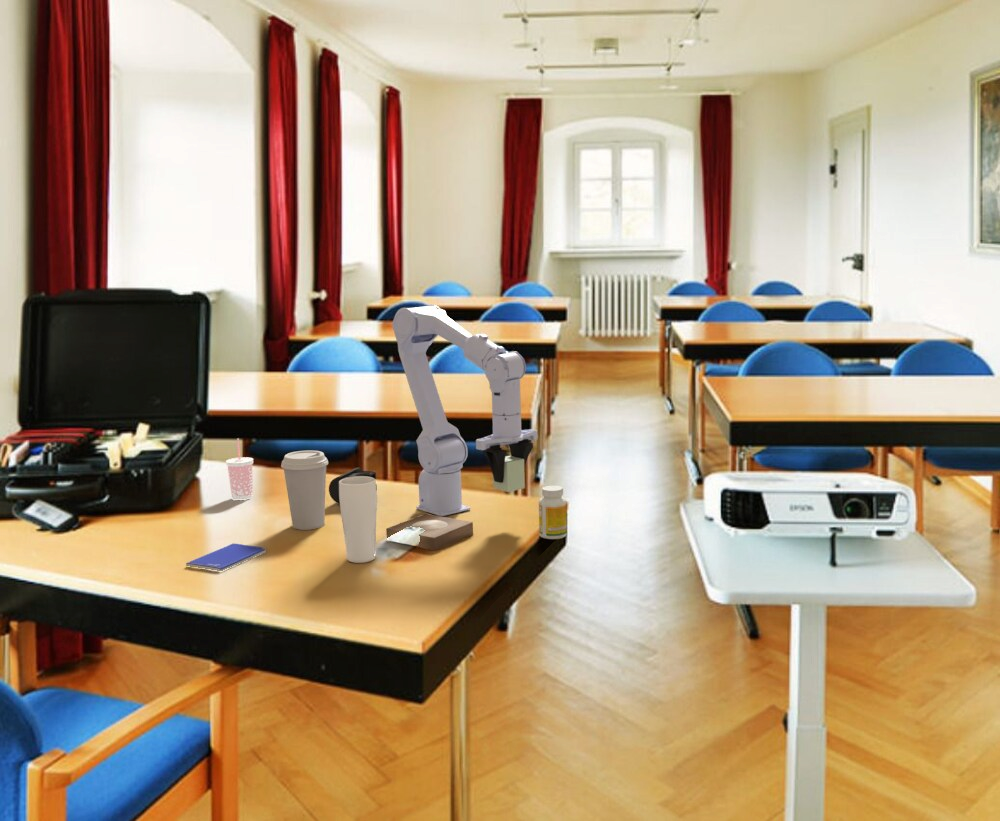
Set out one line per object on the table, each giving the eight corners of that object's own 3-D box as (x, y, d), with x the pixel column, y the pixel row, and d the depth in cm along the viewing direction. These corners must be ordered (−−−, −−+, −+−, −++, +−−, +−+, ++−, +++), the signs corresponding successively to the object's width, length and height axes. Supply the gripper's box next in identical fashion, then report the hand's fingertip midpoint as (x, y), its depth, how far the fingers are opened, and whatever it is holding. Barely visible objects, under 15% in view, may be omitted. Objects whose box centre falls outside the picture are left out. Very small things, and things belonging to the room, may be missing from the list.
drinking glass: (338, 557, 189) (334, 478, 187) (374, 551, 192) (369, 474, 189) (348, 567, 183) (343, 486, 180) (384, 561, 186) (380, 481, 183)
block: (493, 488, 206) (492, 459, 205) (510, 484, 209) (509, 455, 208) (507, 492, 203) (506, 462, 201) (524, 488, 205) (524, 459, 204)
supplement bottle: (533, 536, 198) (532, 488, 197) (551, 530, 202) (550, 483, 201) (555, 541, 195) (554, 492, 193) (572, 534, 199) (571, 487, 197)
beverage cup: (244, 502, 230) (239, 442, 228) (223, 500, 233) (218, 440, 230) (261, 496, 236) (257, 436, 233) (240, 493, 238) (236, 435, 236)
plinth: (386, 541, 198) (386, 528, 198) (426, 525, 208) (425, 513, 207) (434, 550, 191) (434, 537, 191) (473, 534, 201) (472, 521, 200)
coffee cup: (300, 535, 204) (295, 462, 201) (276, 525, 211) (271, 455, 208) (340, 525, 210) (336, 454, 207) (316, 516, 217) (312, 447, 215)
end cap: (350, 495, 235) (348, 466, 233) (378, 496, 232) (376, 468, 231) (329, 506, 225) (327, 476, 224) (357, 508, 223) (356, 478, 222)
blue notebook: (220, 567, 182) (265, 547, 193) (185, 562, 186) (231, 542, 197) (221, 575, 182) (265, 555, 193) (186, 570, 186) (232, 550, 197)
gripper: (491, 420, 195) (493, 489, 198) (547, 410, 204) (548, 476, 207) (468, 416, 201) (470, 483, 203) (524, 406, 210) (525, 470, 212)
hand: (508, 479), depth 205 cm, fingers closed on block, 4 cm apart
